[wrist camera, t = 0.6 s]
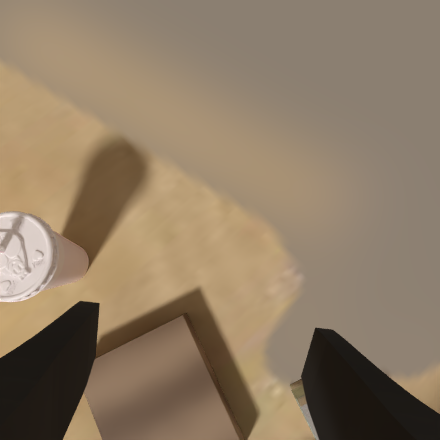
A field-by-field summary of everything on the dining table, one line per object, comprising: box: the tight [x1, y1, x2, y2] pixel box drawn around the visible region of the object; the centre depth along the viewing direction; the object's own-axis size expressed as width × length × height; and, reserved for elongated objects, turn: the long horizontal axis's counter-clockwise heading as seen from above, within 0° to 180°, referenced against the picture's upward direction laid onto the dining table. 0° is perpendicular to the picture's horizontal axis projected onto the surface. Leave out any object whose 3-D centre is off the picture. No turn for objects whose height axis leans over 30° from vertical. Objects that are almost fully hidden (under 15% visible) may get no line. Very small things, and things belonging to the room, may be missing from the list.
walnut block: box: [84, 313, 245, 440], centre depth 32 cm, size 12×10×3 cm
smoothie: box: [0, 211, 89, 302], centre depth 29 cm, size 6×6×14 cm
